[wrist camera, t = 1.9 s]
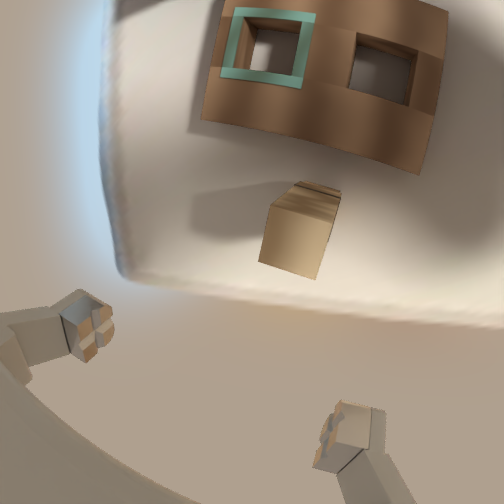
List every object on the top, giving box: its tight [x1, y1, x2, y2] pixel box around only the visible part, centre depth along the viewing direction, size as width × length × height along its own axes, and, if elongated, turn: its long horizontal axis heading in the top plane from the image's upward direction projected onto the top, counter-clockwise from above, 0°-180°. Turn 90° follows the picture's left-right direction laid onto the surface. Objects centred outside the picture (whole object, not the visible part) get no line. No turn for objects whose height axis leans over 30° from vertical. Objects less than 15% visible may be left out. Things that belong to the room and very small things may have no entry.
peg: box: [258, 181, 342, 280], centre depth 24 cm, size 4×4×12 cm
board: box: [201, 0, 448, 175], centre depth 22 cm, size 20×16×4 cm
